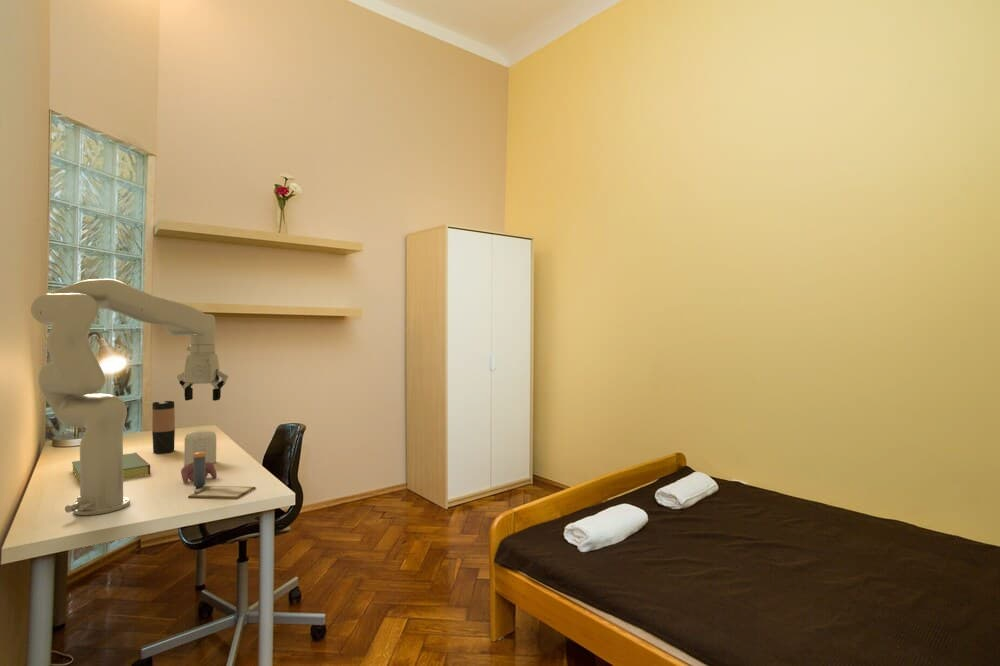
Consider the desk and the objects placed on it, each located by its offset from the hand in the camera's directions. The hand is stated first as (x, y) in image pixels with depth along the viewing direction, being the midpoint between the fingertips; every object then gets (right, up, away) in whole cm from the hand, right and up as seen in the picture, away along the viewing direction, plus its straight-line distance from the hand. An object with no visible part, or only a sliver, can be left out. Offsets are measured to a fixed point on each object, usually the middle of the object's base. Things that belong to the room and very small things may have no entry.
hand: (202, 400), depth 179 cm
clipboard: (+18, -26, -20) cm, 37 cm away
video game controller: (+2, -26, -6) cm, 27 cm away
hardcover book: (-33, -26, +2) cm, 42 cm away
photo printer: (-8, -25, +13) cm, 30 cm away
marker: (+8, -26, -16) cm, 31 cm away
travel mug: (-34, -25, +32) cm, 53 cm away
